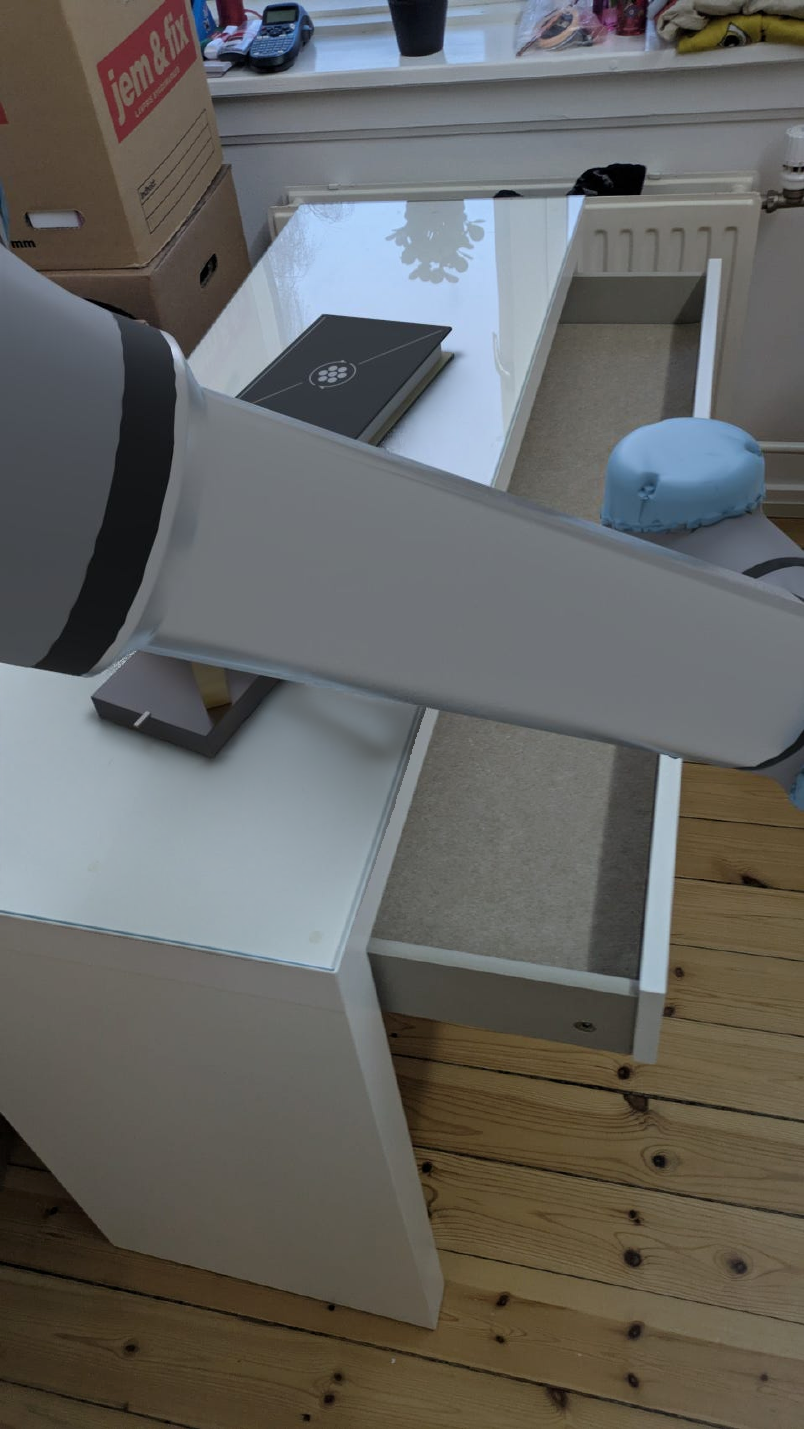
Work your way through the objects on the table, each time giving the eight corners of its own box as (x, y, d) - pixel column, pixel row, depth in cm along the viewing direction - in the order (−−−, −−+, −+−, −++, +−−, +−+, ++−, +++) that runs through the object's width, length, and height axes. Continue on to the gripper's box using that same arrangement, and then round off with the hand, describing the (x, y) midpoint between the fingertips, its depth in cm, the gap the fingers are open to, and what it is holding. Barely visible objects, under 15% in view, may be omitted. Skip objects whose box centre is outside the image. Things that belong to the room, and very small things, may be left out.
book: (325, 340, 114) (320, 313, 112) (455, 355, 109) (452, 326, 107) (215, 448, 101) (208, 419, 99) (357, 471, 95) (352, 441, 93)
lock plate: (203, 769, 72) (195, 746, 70) (88, 727, 76) (78, 705, 74) (330, 620, 81) (326, 597, 80) (222, 590, 85) (216, 568, 84)
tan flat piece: (232, 702, 73) (202, 606, 67) (205, 709, 73) (173, 614, 67) (208, 598, 81) (180, 505, 76) (184, 604, 81) (154, 511, 75)
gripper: (469, 758, 65) (161, 660, 75) (556, 626, 73) (266, 553, 83) (459, 666, 60) (130, 573, 70) (554, 534, 68) (245, 467, 77)
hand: (204, 562), depth 76 cm, fingers closed
